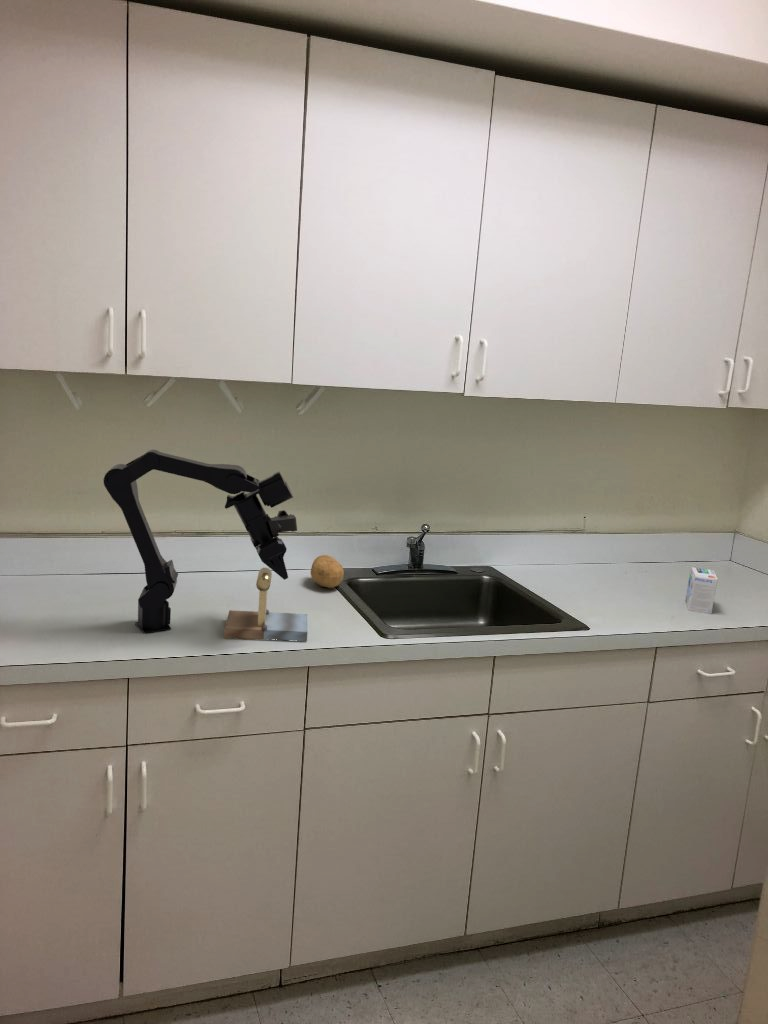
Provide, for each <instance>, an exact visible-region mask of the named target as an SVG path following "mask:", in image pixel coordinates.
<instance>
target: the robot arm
mask: <svg viewBox="0 0 768 1024" xmlns="http://www.w3.org/2000/svg"><path fill="white" fill-rule="evenodd" d="M154 470H155V471H159V472H163V473H168V474H172V475H174V476H175V475H176V476H180V477H184V478H187V479H188V478H189V479H193V480H197V481H201V482H204V483H207V484H209V485H211V486H212V487H214V488H216V489H218V490H220V491H222V492H226V493H228V494H227V496H226V501H225V504H224V509H226V510H227V509H229V508H231V507H234V509H235V511H236V513H237V514H238V516H239V518H240V521H241V522H242V524H243V526H244V528H245V530H246V531H247V534H248V536H249V537H250V541H251V544H252V545H253V547H254V548H255V550H256V552H257V555H258V556H259V558H260V560H261V562H262V563H263V564H264V565H266V566H267V568H268V569H270V570H272V571H273V572H275V574H277V575H278V576H279V577H280V578H281V579H283V580H287V579H289V574H288V572H287V568H286V563H285V560H284V557H285V554H286V553H287V547H286V544H285V542H284V541H283V540H282V538H279V536H280V534H279V533H286V532H297V531H298V526H297V525H298V524H297V517H296V516H295V515H294V514H291V513H290V514H288V512H287V511H286V509H285V510H284V509H283V510H279V511H278V513H277V515H276V516H274V517H273V516H272V517H271V516H269V514H268V513H266V510H265V509H264V507H263V505H264V506H265V507H266V506H267V507H270V508H274V507H276V506H278V505H281V504H283V503H285V502H287V501H288V500H291V499H292V498H294V495H293V493H292V491H291V488H290V487H289V484H288V482H287V481H286V480H285V479H284V477H283V475H282V474H281V472H280V471H276V472H275V473H273V474H272V475H270V476H268V477H266V478H264V479H262V480H260V479H258V478H256V477H255V476H252V475H250V474H248V473H247V472H246V470H245V468H244V467H242V466H240V465H238V464H237V465H236V464H228V463H227V464H225V463H215V464H214V463H206V462H204V461H203V462H202V461H198V460H194V459H191V458H186V457H181V456H178V455H175V454H169V453H165V452H162V451H159V450H157V449H150V450H148V451H146V452H145V453H144V454H142V455H141V456H139V457H137V458H135V459H133V460H132V461H129V462H128V463H126V464H124V463H118V464H116V465H114V466H112V467H111V468H110V469H109V470H108V471H107V472H106V473H105V475H104V477H103V486H104V487H105V489H106V491H107V492H108V494H109V495H110V497H111V499H112V500H113V501H114V502H115V503H116V504H117V506H118V507H119V508H120V509H121V511H122V513H123V516H124V519H125V521H126V523H127V526H128V528H129V530H130V533H131V535H132V538H133V540H134V543H135V545H136V547H137V550H138V552H139V556H140V557H141V560H142V562H143V565H144V572H145V574H144V575H145V581H146V585H145V586H144V587H143V589H142V591H141V593H140V595H139V597H138V599H137V603H138V604H137V605H138V606H137V621H136V622H135V623H134V625H135V626H136V627H137V628H138V629H139V630H140V631H141V632H142V633H144V634H148V633H155V632H161V631H162V632H163V631H168V630H171V629H172V627H171V617H172V616H171V615H172V614H171V613H172V611H171V610H172V608H171V607H170V606H169V605H170V604H169V601H168V600H169V599H170V598H171V597H172V596H173V594H174V592H175V589H176V587H177V583H178V576H179V572H177V571H176V569H175V566H174V561H173V559H170V560H168V561H167V560H166V559H165V558H164V557H163V556H162V554H161V551H160V549H159V547H158V545H157V542H156V539H155V538H154V535H153V532H152V530H151V527H150V525H149V521H148V519H147V517H146V515H145V512H144V510H143V507H142V505H141V502H140V499H139V490H138V483H137V480H138V479H140V478H142V477H143V476H145V475H146V474H148V473H149V472H151V471H154ZM258 495H259V497H260V499H259V497H258ZM260 500H261V501H260ZM261 502H262V503H261ZM262 504H263V505H262Z"/></svg>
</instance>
